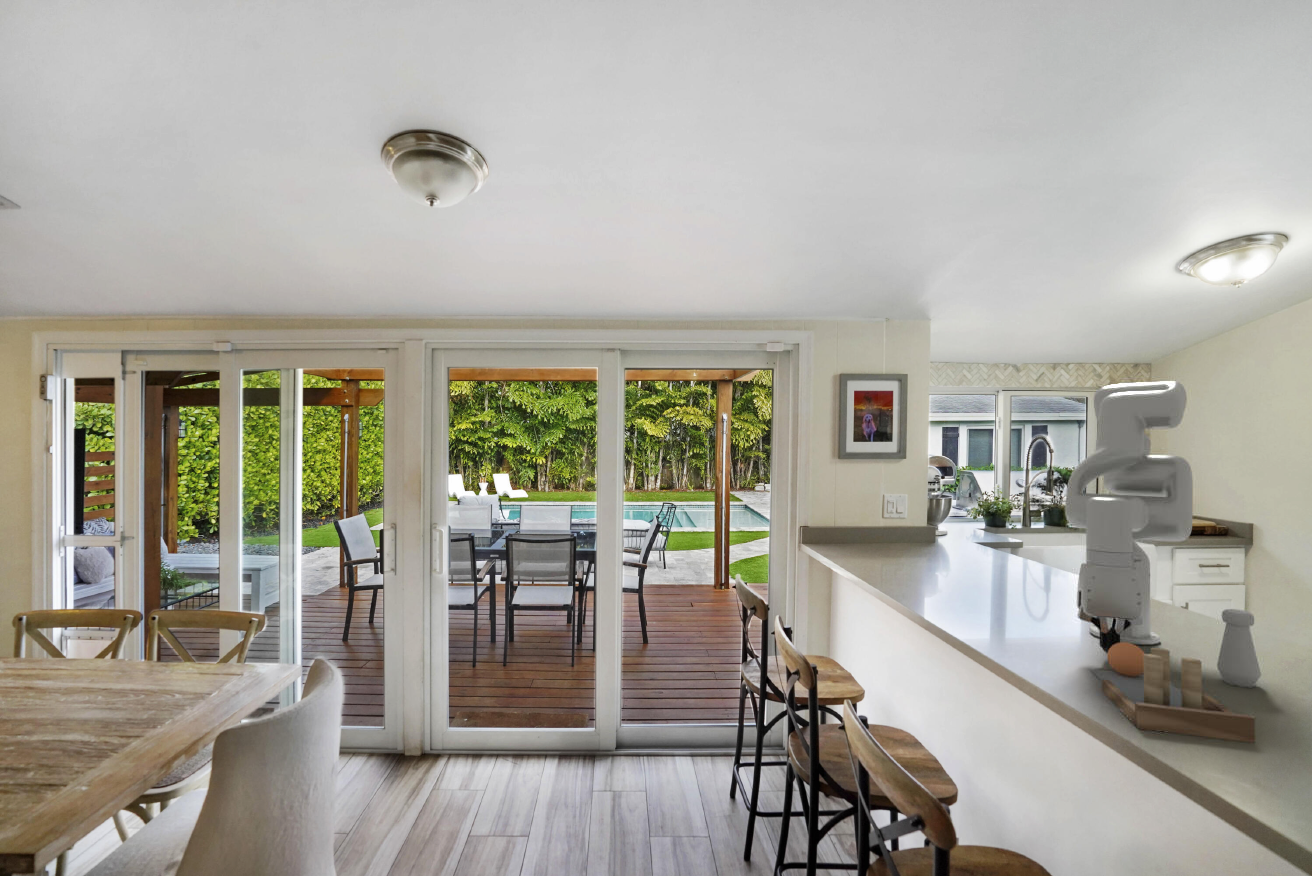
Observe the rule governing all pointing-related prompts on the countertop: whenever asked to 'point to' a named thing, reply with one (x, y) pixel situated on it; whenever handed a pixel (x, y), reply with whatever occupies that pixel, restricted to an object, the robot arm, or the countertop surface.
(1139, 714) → the lane rail
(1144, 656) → the pin back right
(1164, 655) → the pin front
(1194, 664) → the pin back left
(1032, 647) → the countertop surface
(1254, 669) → the salt shaker
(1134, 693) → the plate
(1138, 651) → the ball
